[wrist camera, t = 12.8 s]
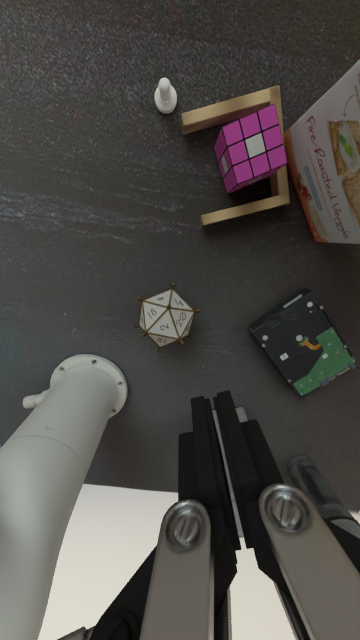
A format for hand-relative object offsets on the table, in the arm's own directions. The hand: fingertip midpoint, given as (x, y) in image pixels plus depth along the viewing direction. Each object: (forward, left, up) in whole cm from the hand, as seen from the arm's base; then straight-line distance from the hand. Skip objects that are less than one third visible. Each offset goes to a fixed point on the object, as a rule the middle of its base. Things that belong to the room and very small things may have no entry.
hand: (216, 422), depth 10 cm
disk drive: (+15, -12, -27) cm, 33 cm away
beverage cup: (+13, -38, -27) cm, 49 cm away
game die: (-4, -2, -27) cm, 28 cm away
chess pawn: (+2, +23, -27) cm, 36 cm away
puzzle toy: (+10, +15, -27) cm, 33 cm away
